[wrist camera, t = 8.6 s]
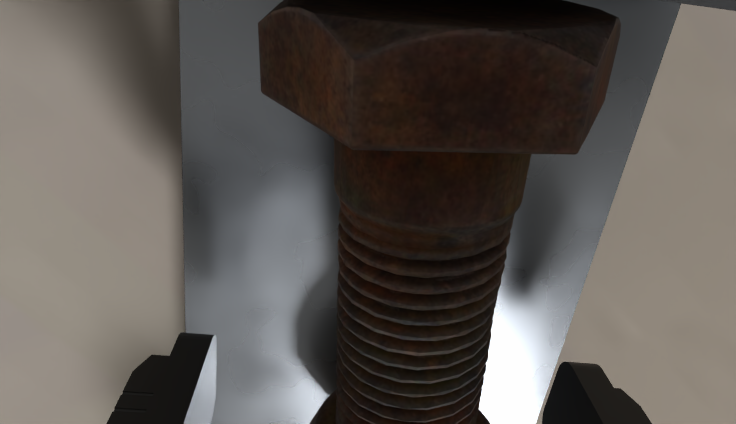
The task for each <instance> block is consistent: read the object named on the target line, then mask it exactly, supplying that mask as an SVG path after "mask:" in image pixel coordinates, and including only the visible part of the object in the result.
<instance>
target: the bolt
mask: <svg viewBox="0 0 736 424" xmlns="http://www.w3.org/2000/svg"><path fill="white" fill-rule="evenodd" d="M620 31H621V22H620V19H619V17H616V16H614V15H612V14H609V13H607V12H605V11H603V10H600V9H597V8H593V7H589V6H585V5H581V4H577V3H573V2H569V1H565V0H283V1H282V2H280V3H279V4H278V5H277V6H276V7H275V8H274V9H273V10H272V11H270V12H269V13H268V14H267V15H266V16H265V17H264V18H263V19H262V20H261V21H259V22H258V37H259V60H260V82H261V92H262V93H263V94H264V95H265V96H267V97H269V98H270V99H272V100H274V101H275V102H277V103H278V104H280V105H282V106H283V107H285V108H286V109H288V110H290V111H291V112H293V113H294V114H296V115H298V116H299V117H301V118H303V119H304V120H306V121H307V122H309V123H311V124H312V125H314V126H315V127H317V128H319V129H320V130H322V131H323V132H325V133H327V134H328V135H330V136H332V137H333V138H334V186H335V191H336V193H337V195H338V197H339V201H340V211H339V217H338V220H339V222H340V223H339V225H338V236H339V240H338V252H339V254H338V263H339V272H338V279H337V281H338V287H337V296H338V299H337V333H336V334H337V345H336V347H337V350H336V359H337V360H336V373H337V378H336V384H337V388H336V389H335V390H334V391H333V392H332V393H331V394H330V395H329V396H328V397H327V399H326V400H325V401H324V402H323V404H322V405H321V407H320V408H319V410H318V411H317V413H316V414H315V416H314V417H313V419H312V420H311V422H310V424H491V423H490V422H489V420H488V419H487V418H486V417H485V415H484V414H483V413H482V412H481V411H480V409H479V405H480V399H481V395H482V386H483V384H484V374H485V372H486V362H487V361H488V352H489V347H490V341H491V328H492V325H493V315H494V310H495V307H496V302H497V296H498V291H499V288H500V285H501V280H502V279H501V277H502V274H503V272H504V268H505V260H506V258H507V250H506V249H507V246H508V244H509V241H510V235H511V233H510V231H511V228H512V225H513V219H514V214H515V212H516V211H517V210H518V209H519V207H520V205H521V203H522V199H523V194H524V189H525V184H526V179H527V174H528V169H529V164H530V159H531V154H568V155H575V154H577V153H578V152H579V150H580V148H581V146H582V145H583V143H584V141H585V139H586V137H587V135H588V133H589V131H590V129H591V127H592V125H593V123H594V121H595V119H596V117H597V115H598V113H599V111H600V109H601V107H602V105H603V103H604V101H605V97H606V93H607V89H608V84H609V80H610V76H611V72H612V68H613V63H614V59H615V55H616V51H617V46H618V42H619V38H620Z"/></svg>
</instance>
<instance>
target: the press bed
mask: <svg viewBox="0 0 736 424" xmlns="http://www.w3.org/2000/svg"><path fill="white" fill-rule="evenodd" d="M282 1H283V0H179V33H180V82H181V131H182V179H183V228H184V276H185V325H186V333H196V334H209V335H216V339H217V365H216V398H215V405H214V411H213V415H212V419H211V423H210V424H310V422H311V420H312V419H313V417H314V416H315V414H316V413H317V411H318V410H319V408H320V407H321V405H322V404H323V402H324V401H325V400H326V399H327V397H328V396H329V395H330V394H331V393H332V392H333V391H334V390H335V389H336V388H337V384H336V378H337V373H336V360H337V359H336V350H337V347H336V345H337V334H336V333H337V299H338V296H337V287H338V281H337V279H338V272H339V263H338V254H339V252H338V240H339V236H338V225H339V223H340V222H339V220H338V217H339V211H340V201H339V197H338V195H337V193H336V191H335V186H334V138H333V137H332V136H330V135H328V134H327V133H325V132H323V131H322V130H320V129H319V128H317V127H315V126H314V125H312V124H311V123H309V122H307V121H306V120H304V119H303V118H301V117H299V116H298V115H296V114H294V113H293V112H291V111H290V110H288V109H286V108H285V107H283V106H282V105H280V104H278V103H277V102H275V101H274V100H272V99H270V98H269V97H267V96H265V95H264V94H263V93H262V92H261V82H260V60H259V37H258V22H259V21H261V20H262V19H263V18H264V17H265V16H266V15H267V14H268V13H269V12H270V11H272V10H273V9H274V8H275V7H276V6H277V5H278V4H279V3H280V2H282ZM565 1H569V2H573V3H577V4H581V5H585V6H589V7H593V8H597V9H600V10H603V11H605V12H607V13H609V14H612V15H614V16H616V17H619V19H620V22H621V31H620V38H619V42H618V46H617V51H616V55H615V59H614V63H613V68H612V72H611V76H610V80H609V84H608V89H607V93H606V97H605V101H604V103H603V105H602V107H601V109H600V111H599V113H598V115H597V117H596V119H595V121H594V123H593V125H592V127H591V129H590V131H589V133H588V135H587V137H586V139H585V141H584V143H583V145H582V146H581V148H580V150H579V152H578V153H577V154H575V155H568V154H531V159H530V164H529V169H528V174H527V179H526V184H525V189H524V194H523V199H522V203H521V205H520V207H519V209H518V210H517V211H516V212H515V214H514V219H513V225H512V228H511V231H510V233H511V235H510V241H509V244H508V246H507V249H506V250H507V258H506V260H505V268H504V272H503V274H502V277H501V279H502V280H501V285H500V288H499V291H498V296H497V302H496V307H495V310H494V315H493V325H492V328H491V341H490V347H489V352H488V361H487V362H486V372H485V374H484V384H483V386H482V395H481V399H480V405H479V409H480V411H481V412H482V413H483V414H484V415H485V417H486V418H487V419H488V420H489V422H490V423H491V424H536V421H537V418H538V415H539V413H540V410H541V407H542V404H543V401H544V398H545V395H546V392H547V389H548V386H549V384H550V381H551V378H552V375H553V372H554V369H555V366H556V363H557V360H558V358H559V355H560V352H561V349H562V346H563V343H564V340H565V337H566V334H567V332H568V329H569V326H570V323H571V320H572V317H573V314H574V311H575V308H576V306H577V303H578V300H579V297H580V294H581V291H582V288H583V285H584V282H585V280H586V277H587V274H588V271H589V268H590V265H591V262H592V259H593V256H594V254H595V251H596V248H597V245H598V242H599V239H600V236H601V233H602V230H603V228H604V225H605V222H606V219H607V216H608V213H609V210H610V207H611V204H612V202H613V199H614V196H615V193H616V190H617V187H618V184H619V181H620V178H621V176H622V173H623V170H624V167H625V164H626V161H627V158H628V155H629V152H630V150H631V147H632V144H633V141H634V138H635V135H636V132H637V129H638V126H639V124H640V121H641V118H642V115H643V112H644V109H645V106H646V103H647V100H648V98H649V95H650V92H651V89H652V86H653V83H654V80H655V77H656V74H657V72H658V69H659V66H660V63H661V60H662V57H663V54H664V51H665V48H666V46H667V43H668V40H669V37H670V34H671V31H672V28H673V25H674V22H675V20H676V17H677V14H678V11H679V8H680V5H681V3H683V4H690V5H697V6H705V7H712V8H719V9H726V10H734V11H736V0H565Z"/></svg>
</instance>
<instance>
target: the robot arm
mask: <svg viewBox="0 0 736 424" xmlns="http://www.w3.org/2000/svg"><path fill="white" fill-rule="evenodd" d="M216 365H217V339H216V335H209V334H196V333H180V334H179V336H178V338H177V340H176V343H175V345H174V347H173V350H172V352H171V354H170V356H161V355H151V356H150V357H149V358H147V359H146V360H145V361H144V362H143V363H142V364H141V365H139V366H138V367H137V368H136V369H135V370H134V371H133V372H132V374H131V376H130V378H129V380H128V382H127V384H126V386H125V388H124V390H123V394H122V395H121V396H120V398H119V400H118V402H117V404H116V406H115V410H114V412H112V414H111V416H110V418H109V420H108V422H107V424H210V423H211V419H212V415H213V411H214V405H215V398H216ZM542 424H652V423H651V422H650V420H649V419H648V417H647V416H646V414H645V413H644V411H643V410H642V408H641V406H639V405H638V404H637V403H636V402H635V401H634V400H633V399H632V398H631V397H629V396H628V395H627V394H626V393H625V392H624V391H623V390H622V389H619V388H614V387H613V386H612V384H611V383H610V381H609V379H608V378H607V376H606V375H605V373H604V371H603V370H602V368H601V367H600V366H599V365H597V364H589V363H576V362H563V363H562V364H561V365H560V366H559V368H558V371H557V374H556V377H555V380H554V382H553V385H552V388H551V391H550V394H549V397H548V400H547V403H546V405H545V408H544V412H543V419H542Z"/></svg>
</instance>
